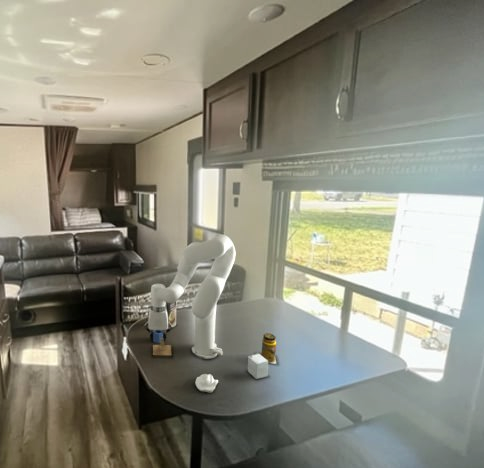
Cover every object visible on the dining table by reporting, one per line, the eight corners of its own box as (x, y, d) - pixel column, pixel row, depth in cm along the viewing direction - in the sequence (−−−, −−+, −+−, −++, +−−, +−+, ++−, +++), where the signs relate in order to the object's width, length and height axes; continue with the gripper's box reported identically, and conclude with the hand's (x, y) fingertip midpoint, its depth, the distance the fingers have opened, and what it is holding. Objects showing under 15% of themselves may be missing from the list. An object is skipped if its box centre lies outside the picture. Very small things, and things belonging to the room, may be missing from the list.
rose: (223, 381, 120) (201, 385, 117) (223, 391, 120) (201, 395, 118) (212, 367, 129) (191, 370, 127) (212, 376, 130) (191, 379, 128)
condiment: (276, 364, 138) (278, 340, 135) (257, 361, 140) (258, 337, 138) (274, 355, 144) (276, 332, 142) (256, 353, 147) (257, 330, 145)
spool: (165, 339, 159) (165, 330, 158) (159, 344, 154) (160, 335, 153) (156, 336, 162) (156, 327, 161) (150, 340, 157) (150, 332, 156)
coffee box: (168, 331, 170) (168, 304, 167) (158, 328, 173) (158, 301, 171) (176, 325, 177) (176, 299, 174) (167, 322, 181) (167, 296, 178)
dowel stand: (170, 347, 153) (170, 334, 152) (171, 357, 144) (171, 343, 143) (153, 346, 154) (153, 334, 152) (152, 357, 145) (152, 343, 144)
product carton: (267, 376, 129) (268, 361, 128) (255, 379, 127) (256, 363, 126) (258, 368, 135) (259, 353, 134) (247, 370, 133) (247, 355, 132)
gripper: (141, 310, 151) (141, 343, 155) (175, 311, 151) (174, 343, 154) (142, 304, 159) (142, 335, 162) (174, 305, 158) (174, 336, 161)
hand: (158, 339), depth 158 cm, fingers closed on spool, 5 cm apart
